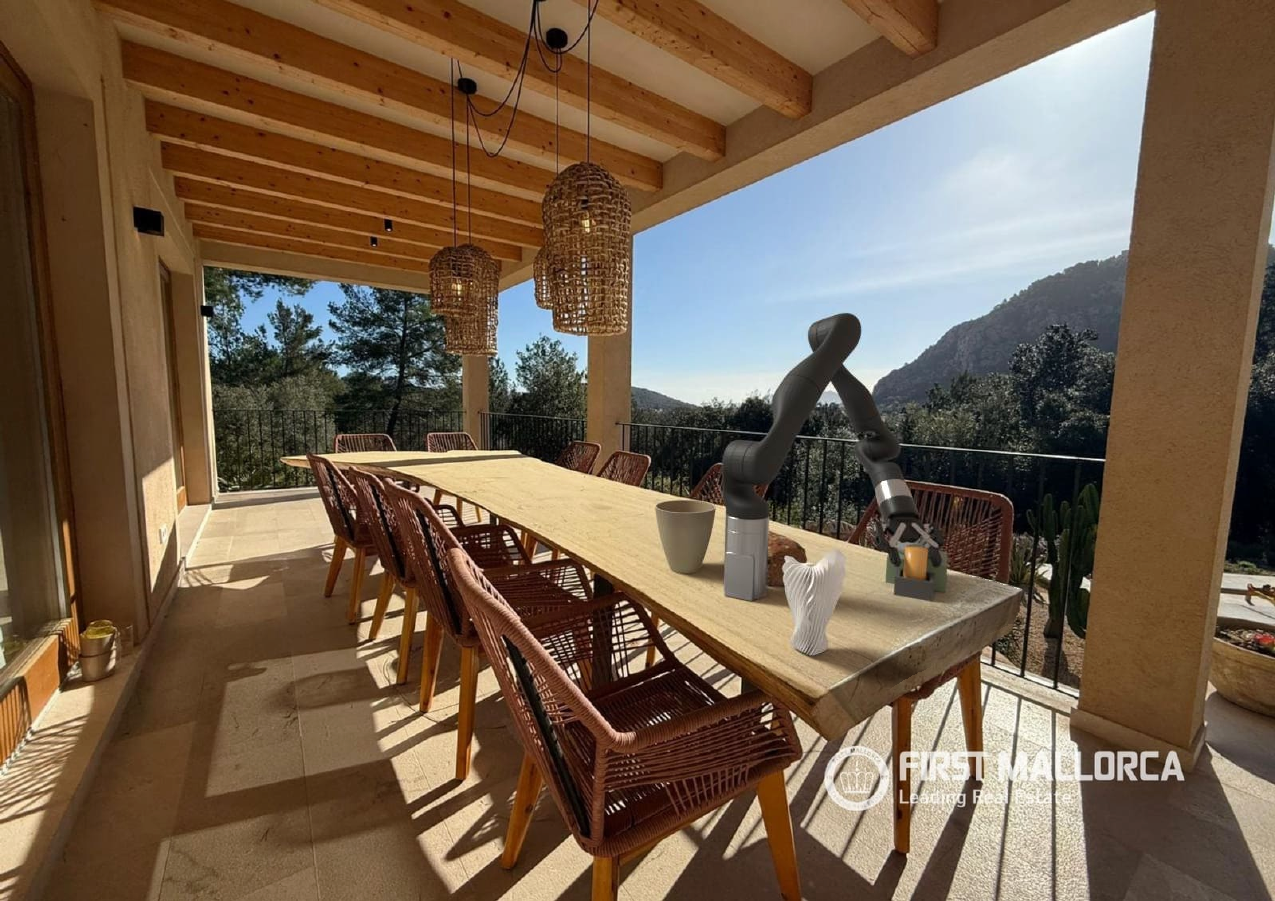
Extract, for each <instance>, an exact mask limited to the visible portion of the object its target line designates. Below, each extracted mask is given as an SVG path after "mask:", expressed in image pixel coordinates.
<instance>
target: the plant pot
mask: <svg viewBox="0 0 1275 901" xmlns="http://www.w3.org/2000/svg"><path fill="white" fill-rule="evenodd" d="M716 509H717V506H716V505H715V504H714V503H711V502H708V501H703V500H695V499H673V500H664V501H660V502H657V503H656V504H654V510H655V517H656V524H657V528H658V534H659V538H660V542H661V546H662V549H663V551H664V555H665V558H666V561H667V564H668V566H669V569H670V570H671V571H673V572H674V573H677V574H678V573H679V574H694V573H697V572H699V571H700V569H701V568H702V564H703V562H704V559H705V556H706V553H707V550H708V548H709V545H710V544H709V543H710V540H711V537H712V532H713V527H714V522H715V521H714V520H715V516H716Z"/></svg>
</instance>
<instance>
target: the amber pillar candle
mask: <svg viewBox="0 0 1275 901" xmlns="http://www.w3.org/2000/svg"><path fill="white" fill-rule="evenodd" d="M927 555H928V549H927V548H924V547H921V546H914V545H908V546H905V556H904V571H903V577H906V578H912V579H918V580H924V581H926V569H927Z"/></svg>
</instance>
